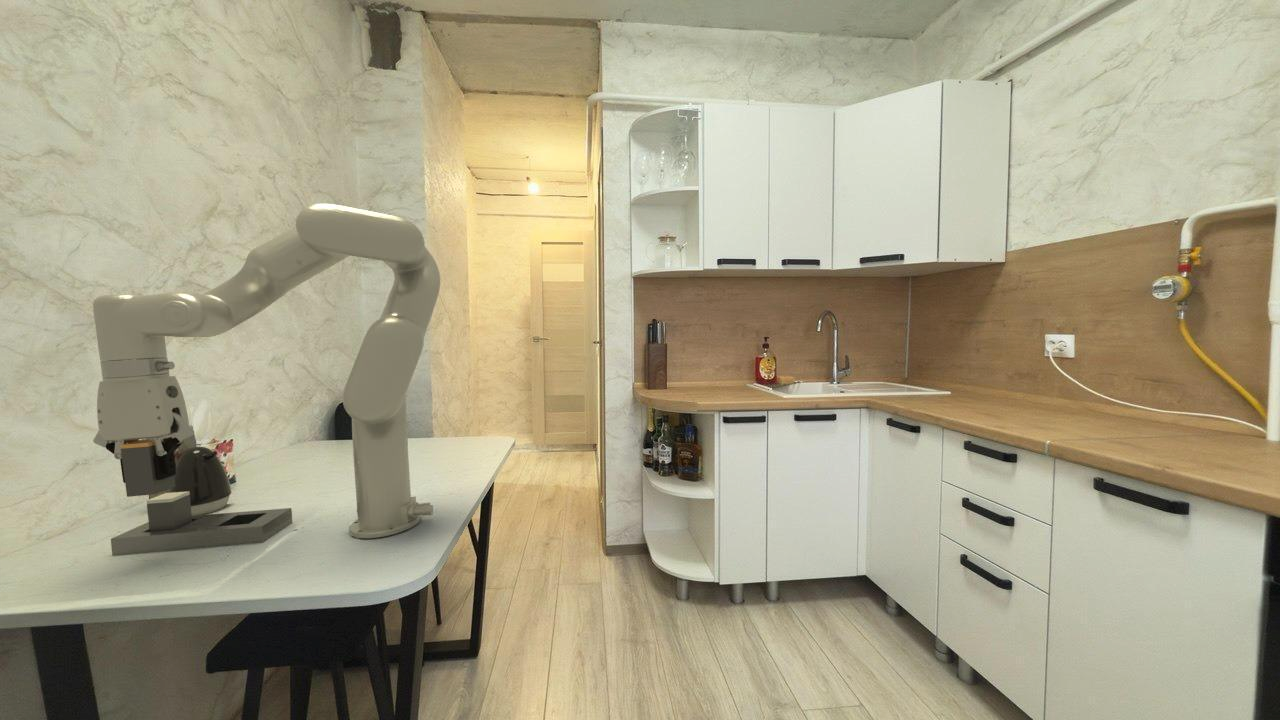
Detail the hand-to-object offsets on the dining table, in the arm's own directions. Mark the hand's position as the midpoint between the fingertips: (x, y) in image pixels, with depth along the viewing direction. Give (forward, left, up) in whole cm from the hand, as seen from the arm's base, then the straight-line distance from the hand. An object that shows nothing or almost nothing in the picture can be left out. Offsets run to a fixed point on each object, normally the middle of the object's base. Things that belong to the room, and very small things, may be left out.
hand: (150, 477), depth 78 cm
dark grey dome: (+11, -26, -16) cm, 32 cm away
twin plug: (+4, -9, -14) cm, 18 cm away
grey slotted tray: (-2, -9, -15) cm, 18 cm away
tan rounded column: (+20, -31, -16) cm, 40 cm away
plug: (0, 0, -2) cm, 2 cm away
